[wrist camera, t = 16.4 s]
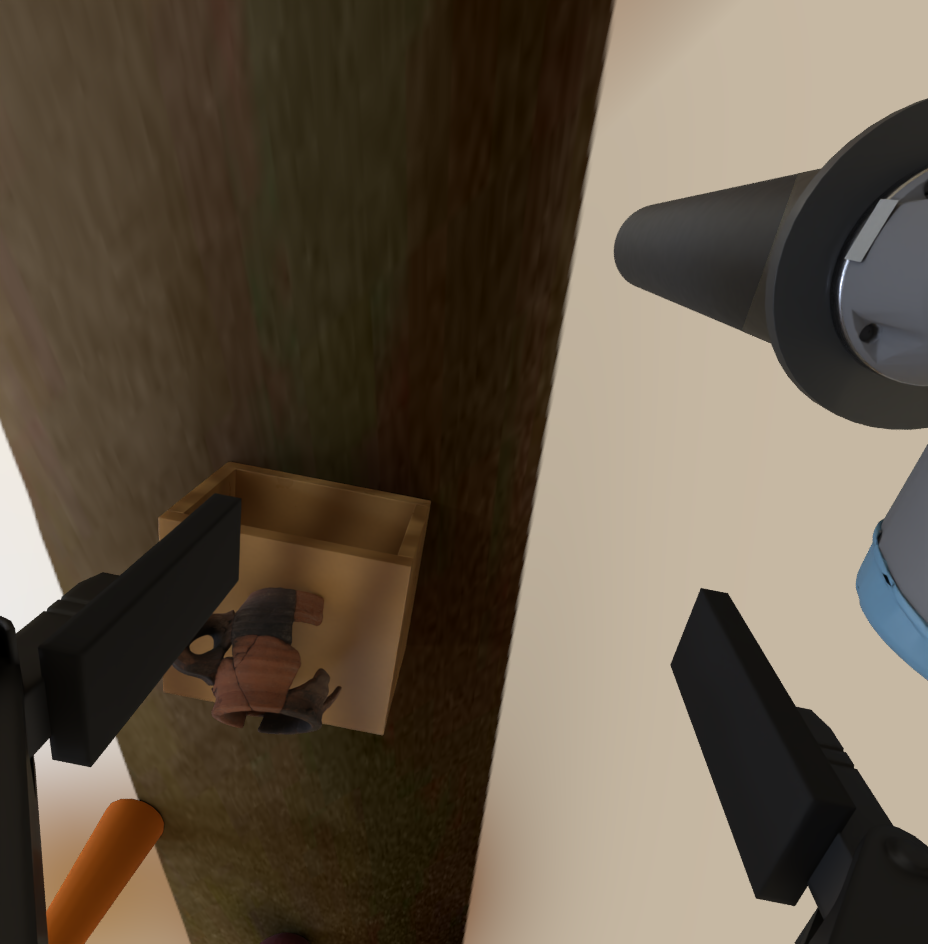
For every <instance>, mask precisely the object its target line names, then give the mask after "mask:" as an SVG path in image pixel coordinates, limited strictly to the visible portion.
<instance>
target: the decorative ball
mask: <svg viewBox="0 0 928 944" xmlns="http://www.w3.org/2000/svg"><path fill="white" fill-rule="evenodd" d="M260 944H310V943H309V942H308V941H307V940H306V939H305V938H303V937H301V936H299V935H297V934H293V933H279V934H276V935H273V936H270V937H268V938H267V939H265V940H264V941H262V942H261V943H260Z"/></svg>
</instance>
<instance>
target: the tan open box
mask: <svg viewBox="0 0 928 944" xmlns="http://www.w3.org/2000/svg"><path fill="white" fill-rule="evenodd" d="M214 493H217V494H222V495H227V496H232V497H237V498H242V500H241V529H240V559H239V581H238V582H237V583H236V585H235V586H234V587H233V588H232V590H231V591H230V592H229V593H228V595H227V596H226V597H225V598H224V600H223V601H222V602H221V604H220V605H219V606H218V607H217V609H216V610H215V611H214V612H213V613H227V612H229V611H231V610H234V611H235V613H236V611H238V610H239V608H240V607H241V605H242V604H243V603H244V602H245V601H246V600H247V598H248V597H249V595H250V594H251V593H252V592H255V591H257V590H260V589H263V588H270V587H271V588H279V587H282V588H285V589H294V590H299V591H304V592H309V593H312V594H315V595H317V596H319V597H322V598H323V599H324V608H323V620H322V623H321V624H320V625H319V626H315V625H312V624H308V623H303V622H293V625H292V644H291V646H292V647H294V648H295V649H296V650H297V651H298V652H299V654H300V658H301V666H300V668H299V670H298V672H297V674H296V676H295V678H294V680H293V682H292V685H291V686H290V688H289V689H292V688H295V687H298V686H300V685H302V684H304V683H306V682H307V681H308V680H310V679H312V678H313V677H314V675H315V673H316V671H317V670H318V669H320V668H322V669H324V670H325V671H326V672H327V673H328V674H329V676H330V682H329V684H328V688H329V693H328V696H329V695H330V694H331V693H332V692H333V691H334V690H335V688H336V687H337V686H341V687H342V689H341V691H340V693H339V695H338V697H337V699H336V700H335V701H334V702H333V703H332V705H331V706H330V707H329V708H328V709H326V711H325V712H324V713H323V715H322V723H323V724H328V725H334V726H339V727H344V728H349V729H354V730H359V731H364V732H369V733H374V734H379V735H383V734H384V730H385V726H386V722H387V718H388V714H389V710H390V707H391V703H392V699H393V695H394V691H395V687H396V683H397V680H398V676H399V672H400V668H401V664H402V660H403V656H404V652H405V649H406V644H407V638H408V632H409V627H410V621H411V615H412V609H413V604H414V598H415V592H416V586H417V581H418V575H419V569H420V563H421V557H422V552H423V546H424V540H425V534H426V529H427V523H428V517H429V511H430V506H431V501H429V500H424V499H419V498H414V497H409V496H404V495H399V494H393V493H388V492H383V491H378V490H373V489H368V488H363V487H358V486H352V485H347V484H342V483H337V482H332V481H327V480H322V479H317V478H311V477H306V476H301V475H296V474H291V473H286V472H281V471H276V470H270V469H265V468H260V467H255V466H250V465H245V464H240V463H235V462H227V463H226V464H225V465H224V466H222V467H221V468H220V469H218V470H217V471H216V472H215V473H213V474H212V475H211V476H210V477H208V478H207V479H206V480H205V481H203V482H202V483H201V484H200V485H198V486H197V487H196V488H195V489H193V490H192V491H191V492H190V493H188V494H187V495H186V496H185V497H183V498H182V499H181V500H180V501H178V502H177V503H176V504H175V505H173V506H172V507H171V508H170V509H168V511H166V512H165V513H164V514H162V515H161V516H160V517H159V518H158V519H159V541H160V540H161V539H163V538H164V537H165V536H166V535H167V534H168V533H170V532H171V531H172V530H173V529H174V528H175V527H176V526H178V525H179V524H180V523H181V522H182V521H183V520H184V519H186V518H187V517H188V516H189V515H190V514H191V513H193V512H194V511H195V510H196V509H197V508H198V507H199V506H201V505H202V504H203V503H204V502H205V501H206V500H207V499H209V498H210V497H211V496H212V495H213V494H214ZM213 643H214V641H213V638H212V637H211V636H209V635H205V636H202V637H200V638H198V639H196V640H195V641H193V642H192V643H191V644H190V650H191V652H193V653H195V654H203V653H205V652H207V651H210V650H212V649H213V645H214V644H213ZM225 657H232V645H231V647H230V648H229V650H228V651H227V652H226V653H225V655H224V658H225ZM211 688H213V686H209V685H207V684H206V683H205V682H204V681H203V680H201V679H199V678H196V677H192V676H188V675H185V674H183V673H181V672H179V671H178V670H176V669H175V668H174V667H173V666H172V665H171V667H170V668H169V669H168V671H167V672H166V673H165V674H164V676H163V692H166V693H171V694H176V695H181V696H186V697H191V698H196V699H201V700H206V701H212V702H215V701H216V698H215V696H214V695H213V692H212V690H211ZM328 696H327V697H328Z"/></svg>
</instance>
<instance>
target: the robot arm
mask: <svg viewBox="0 0 928 944" xmlns="http://www.w3.org/2000/svg"><path fill="white" fill-rule="evenodd" d="M830 310H831V317H832V321H833V325H834V328H835V331H836V333H837V336H838V338H839V339H840V341H841V343H842V345H843V346H844V348H845V349H846V350H847V352H848V353H849V354H850V355H851V356H852V357H853V358H854V359H855V360H856V361H857V362H859V363H860V364H861V365H862V366H864V367H866V368H867V369H869V370H871V371H873V372H875V373H877V374H879V375H882V376H884V377H887V378H890V379H892V380H895V381H898V382H901V383H905V384H910V385H917V386H928V165H926V166H924V167H921V168H919V169H917V170H915V171H914V172H912V173H910V174H908V175H907V176H905V177H904V178H902V179H901V180H899V181H898V182H896V183H895V184H893V185H892V186H891V187H890V188H889V189H887V190H886V191H885V192H884V193H882V194H881V195H880V196H879V197H878V198H877V199H876V200H875V201H874V202H873V203H872V204H871V205H870V206H869V207H868V209H867V210H866V211H865V212H864V213H863V214H862V216H861V217H860V218H859V220H858V221H857V222H856V224H855V225H854V227H853V228H852V230H851V231H850V233H849V235H848V236H847V238H846V240H845V242H844V244H843V246H842V248H841V250H840V253H839V255H838V258H837V261H836V264H835V267H834V271H833V275H832V280H831V286H830ZM241 500H242V498H237V497H232V496H227V495H222V494H217V493H214V494H213V495H212V496H211V497H210V498H209V499H207V500H206V501H205V502H204V503H203V504H202V505H201V506H199V507H198V508H197V509H196V510H195V511H194V512H193V513H191V514H190V515H189V516H188V517H187V518H186V519H184V520H183V521H182V522H181V523H180V524H179V525H178V526H176V527H175V528H174V529H173V530H172V531H171V532H170V533H168V534H167V535H166V536H165V537H164V538H163V539H161V540H160V541H159V542H158V543H157V544H156V545H155V546H153V547H152V548H151V549H150V550H149V551H148V552H146V553H145V554H144V555H143V556H142V557H141V558H140V559H138V560H137V561H136V562H135V563H134V564H133V565H132V566H130V567H129V568H128V569H127V570H126V571H125V572H123V573H122V574H121V575H120V576H119V575H114V574H109V573H104V572H103V573H100V574H98V575H96V576H94V577H91V578H89V579H87V580H84V581H82V582H80V583H78V584H77V585H76V586H75V587H73V588H72V589H71V590H70V591H68V592H67V593H66V594H65V595H63V596H62V598H61V600H57V601H56V602H55V603H53V604H52V605H51V606H50V607H49V608H48V609H47V611H43V612H42V613H41V614H40V615H39V616H37V617H36V618H35V619H34V620H32V621H31V622H30V623H29V624H27V625H26V626H25V627H24V628H22V629H21V630H20V631H19V632H17V633H15V628H14V626H13V624H12V622H11V621H10V620H8V619H6V618H4V617H2V616H0V944H48V930H47V917H46V904H45V891H44V878H43V864H42V851H41V838H40V824H39V811H38V798H37V785H36V771H35V762H34V754H35V753H36V752H37V751H38V750H39V749H40V748H41V747H42V745H43V744H44V743H45V742H46V741H47V740H48V739H49V738H50V745H51V753H52V759H53V760H57V761H62V762H67V763H73V764H77V765H82V766H87V767H91V766H92V765H93V764H94V763H95V762H96V760H97V759H98V758H99V756H100V755H101V754H102V753H103V751H104V750H105V749H106V748H107V746H108V745H109V744H110V743H111V741H112V740H113V739H114V738H115V736H116V735H117V734H118V732H119V731H120V730H121V729H122V727H123V726H124V725H125V724H126V722H127V721H128V720H129V719H130V717H131V716H132V715H133V714H134V712H135V711H136V710H137V708H138V707H139V706H140V705H141V703H142V702H143V701H144V700H145V698H146V697H147V696H148V695H149V693H150V692H151V691H152V689H153V688H154V687H155V686H156V684H157V683H158V682H159V681H160V679H161V678H162V677H163V676H164V674H165V673H166V672H167V671H168V669H169V668H170V667H171V665H172V664H173V663H174V662H175V660H176V659H177V658H178V657H179V655H180V654H181V653H182V652H183V650H184V649H185V648H186V647H187V645H188V644H189V643H190V641H191V640H192V639H193V638H194V636H195V635H196V634H197V633H198V631H199V630H200V629H201V628H202V626H203V625H204V624H205V623H206V621H207V620H208V619H209V617H210V616H211V615H212V614H213V612H214V611H215V610H216V609H217V607H218V606H219V605H220V604H221V602H222V601H223V600H224V598H225V597H226V596H227V595H228V593H229V592H230V591H231V590H232V588H233V587H234V586H235V585H236V583H237V582H238V581H239V559H240V529H241ZM856 590H857V593H858V596H859V599H860V606H861V608H862V611H863V612H864V614H865V616H866V618H867V619H868V621H869V623H870V624H871V626H872V627H873V628H874V630H875V631H876V632H877V633H878V635H879V636H880V637H881V638H882V639H883V641H884V642H885V643H886V644H887V645H888V646H889V647H890V648H891V649H892V650H893V651H894V652H895V653H896V654H897V655H898V656H899V657H900V658H902V659H903V660H904V661H905V662H906V663H907V664H908V665H909V666H911V667H912V668H913V669H914V670H915V671H917V672H918V673H919V674H920V675H922V676H923V677H924V678H925V679H927V680H928V445H927V446H926V448H925V450H924V452H923V453H922V455H921V457H920V458H919V460H918V462H917V464H916V465H915V467H914V469H913V470H912V472H911V474H910V476H909V477H908V479H907V481H906V483H905V484H904V486H903V488H902V489H901V491H900V493H899V495H898V496H897V498H896V500H895V502H894V503H893V505H892V506H891V508H890V510H889V512H888V513H887V515H886V517H885V518H884V519H883V520H881V521H880V522H879V523H878V524H877V526H876V528H875V530H874V533H873V543H872V545H871V547H870V549H869V551H868V553H867V555H866V557H865V559H864V561H863V563H862V565H861V567H860V569H859V572H858V574H857V579H856ZM671 668H672V670H673V673H674V676H675V679H676V682H677V684H678V687H679V690H680V693H681V695H682V698H683V700H684V703H685V706H686V709H687V712H688V714H689V717H690V720H691V722H692V725H693V728H694V730H695V733H696V736H697V739H698V742H699V744H700V747H701V750H702V753H703V755H704V758H705V761H706V763H707V766H708V769H709V772H710V774H711V777H712V780H713V783H714V785H715V788H716V791H717V793H718V796H719V799H720V801H721V804H722V807H723V810H724V813H725V815H726V818H727V821H728V823H729V826H730V829H731V832H732V834H733V837H734V840H735V843H736V845H737V848H738V850H739V853H740V856H741V859H742V862H743V864H744V867H745V870H746V872H747V875H748V878H749V881H750V883H751V886H752V889H753V892H754V894H755V897H756V898H757V899H762V900H766V901H772V902H777V903H782V904H787V905H792V906H795V905H796V904H797V902H798V900H799V899H800V897H801V895H802V894H803V893H804V891H805V889H806V888H807V886H809V889H810V891H811V893H812V895H813V898H814V900H815V902H816V904H817V906H818V908H817V909H816V911H815V913H814V914H813V915H812V917H811V919H810V920H809V922H808V923H807V925H806V926H805V928H804V929H803V931H802V932H801V934H800V935H799V937H798V939H797V940H796V942H795V944H928V846H927V845H925V844H924V843H923V842H922V841H920V840H919V839H917V838H916V837H915V836H913V835H911V834H910V833H908V832H906V831H904V830H902V829H900V828H898V827H895V826H893V825H892V823H891V821H890V820H889V818H888V817H887V815H886V814H885V812H884V811H883V809H882V808H881V806H880V804H879V803H878V801H877V800H876V798H875V797H874V795H873V793H872V792H871V790H870V789H869V787H868V786H867V784H866V783H865V781H864V780H863V778H862V776H861V775H860V773H859V772H858V770H857V769H854V764H853V762H852V761H851V759H850V758H849V756H848V755H847V753H846V752H844V751H843V749H844V748H843V747H842V745H841V744H840V742H839V741H838V739H837V738H836V736H835V734H834V733H833V731H832V730H831V728H830V727H828V726H827V725H826V724H825V723H824V722H823V721H822V720H821V719H820V718H819V717H818V716H817V715H816V714H815V713H814V712H813V711H812V710H810V709H805V708H800V707H796V706H795V704H794V703H793V701H792V699H791V698H790V696H789V695H788V693H787V691H786V689H785V688H784V686H783V685H782V683H781V681H780V679H779V678H778V676H777V674H776V673H775V671H774V670H773V668H772V666H771V665H770V663H769V661H768V660H767V658H766V656H765V654H764V653H763V651H762V649H761V648H760V646H759V644H758V643H757V641H756V640H755V638H754V636H753V634H752V633H751V631H750V629H749V628H748V626H747V625H746V623H745V621H744V620H743V618H742V616H741V614H740V613H739V611H738V609H737V608H736V606H735V604H734V603H733V601H732V600H731V598H730V596H729V595H728V593H723V592H718V591H713V590H708V589H703V588H701V589H700V592H699V594H698V597H697V600H696V602H695V604H694V607H693V609H692V612H691V615H690V617H689V619H688V622H687V624H686V627H685V630H684V632H683V635H682V637H681V640H680V642H679V645H678V647H677V650H676V652H675V655H674V657H673V660H672V663H671Z"/></svg>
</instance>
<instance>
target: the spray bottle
mask: <svg viewBox="0 0 928 944" xmlns="http://www.w3.org/2000/svg"><path fill="white" fill-rule="evenodd" d="M163 829H164V822H163V819H162V817H161V815H160V814H159V813H158V812H157V811H156V810H155V809H154V808H153V807H152V806H150V805H148V804H147V803H145V802H143V801H139V800H135V799H120V800H117V801H115V802H112V803H111V804H110V806H109V807H108V808H107V809H106V811H105V813H104V814H103V816H102V818H101V819H100V821H99V823H98V824H97V826H96V828H95V830H94V831H93V833H92V835H91V836H90V838H89V840H88V842H87V843H86V845H85V847H84V848H83V850H82V852H81V853H80V855H79V857H78V859H77V860H76V862H75V864H74V865H73V867H72V869H71V871H70V872H69V874H68V876H67V877H66V879H65V881H64V882H63V884H62V886H61V888H60V889H59V891H58V893H57V894H56V896H55V898H54V900H53V901H52V903H51V905H50V906H49V908H48V910H47V911H46V917H47V930H48V944H85V942H86V941H87V939H88V938H89V936H90V935H91V934H92V932H93V931H94V929H95V928H96V927H97V925H98V923H99V922H100V921H101V919H102V918H103V917H104V915H105V914H106V912H107V911H108V909H109V908H110V907H111V905H112V904H113V903H114V901H115V900H116V898H117V897H118V895H119V894H120V893H121V891H122V890H123V888H124V887H125V886H126V884H127V883H128V881H129V880H130V878H131V877H132V876H133V874H134V873H135V871H136V870H137V869H138V867H139V866H140V864H141V863H142V861H143V860H144V859H145V857H146V856H147V854H148V853H149V851H150V850H151V849H152V847H153V846H154V844H155V843H156V842H157V840H158V839H159V837H160V836H161V835H162V833H163Z"/></svg>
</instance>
